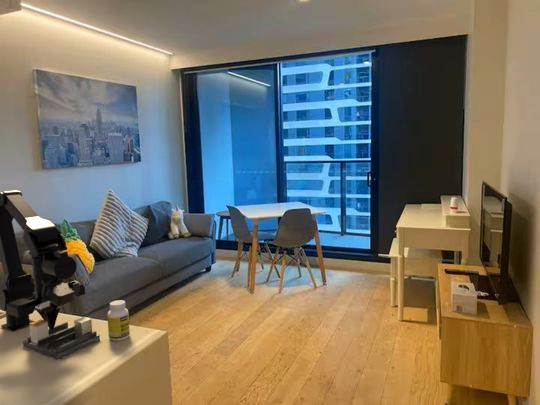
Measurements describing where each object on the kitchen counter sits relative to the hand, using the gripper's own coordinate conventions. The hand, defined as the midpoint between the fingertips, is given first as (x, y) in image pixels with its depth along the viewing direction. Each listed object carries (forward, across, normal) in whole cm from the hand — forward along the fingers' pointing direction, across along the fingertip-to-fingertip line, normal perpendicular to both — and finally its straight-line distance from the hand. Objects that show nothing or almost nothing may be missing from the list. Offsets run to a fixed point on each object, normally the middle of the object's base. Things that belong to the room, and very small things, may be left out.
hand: (51, 328), depth 110 cm
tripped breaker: (+2, -3, 0) cm, 4 cm away
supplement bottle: (+4, +10, -14) cm, 18 cm away
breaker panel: (+4, 0, -4) cm, 5 cm away
